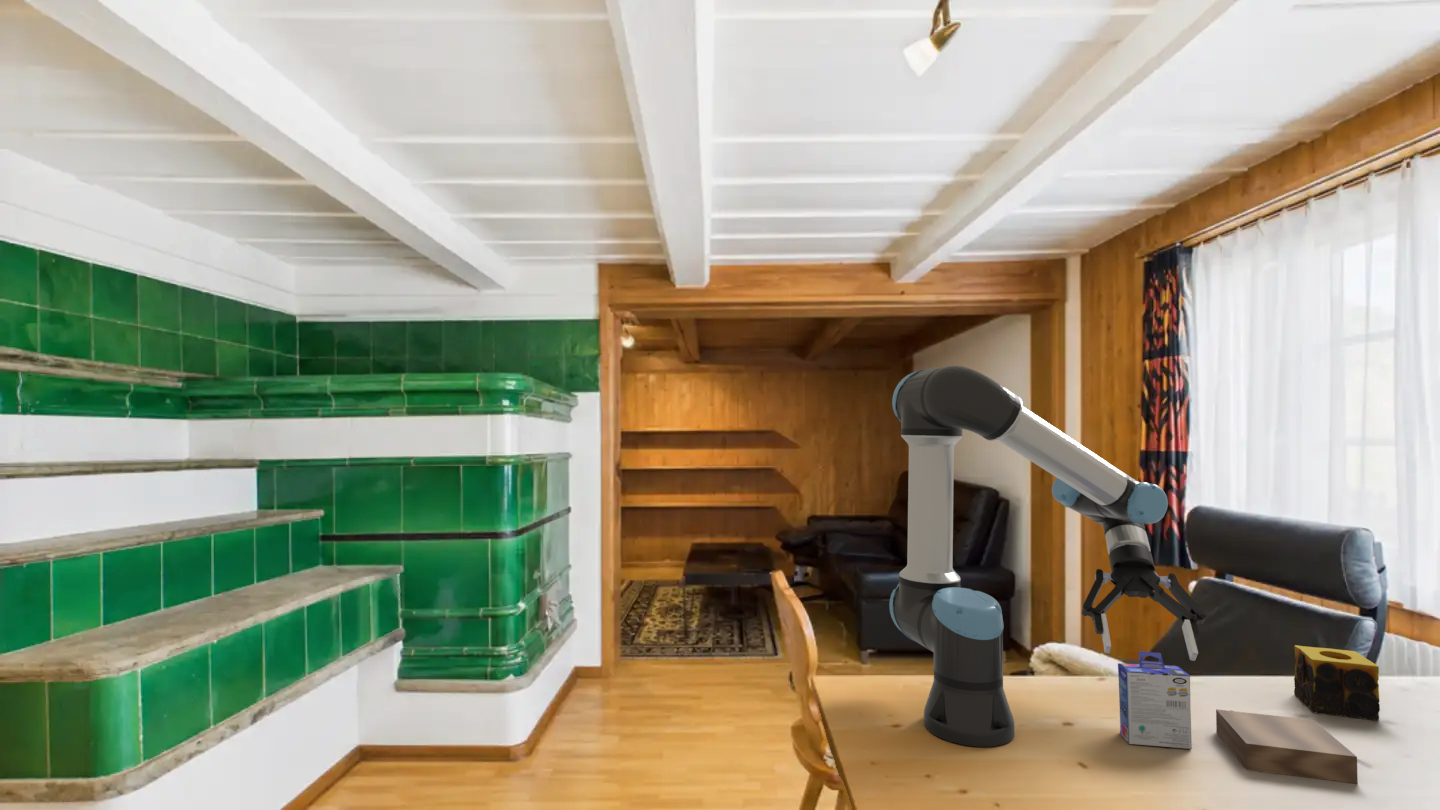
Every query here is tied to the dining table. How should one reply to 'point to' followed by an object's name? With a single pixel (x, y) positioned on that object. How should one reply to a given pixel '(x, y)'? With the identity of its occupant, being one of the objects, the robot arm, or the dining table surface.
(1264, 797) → the dining table surface
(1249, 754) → the walnut stand
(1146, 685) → the ink cartridge box
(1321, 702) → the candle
